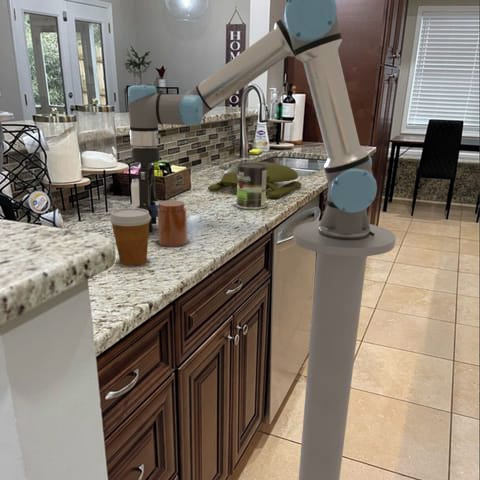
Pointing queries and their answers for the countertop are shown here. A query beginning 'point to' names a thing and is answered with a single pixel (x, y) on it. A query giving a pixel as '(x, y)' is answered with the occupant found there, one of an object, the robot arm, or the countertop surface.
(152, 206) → the lid
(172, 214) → the jar
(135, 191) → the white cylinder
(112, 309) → the countertop surface
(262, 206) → the coffee can
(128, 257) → the disposable coffee cup
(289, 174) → the spaceship
